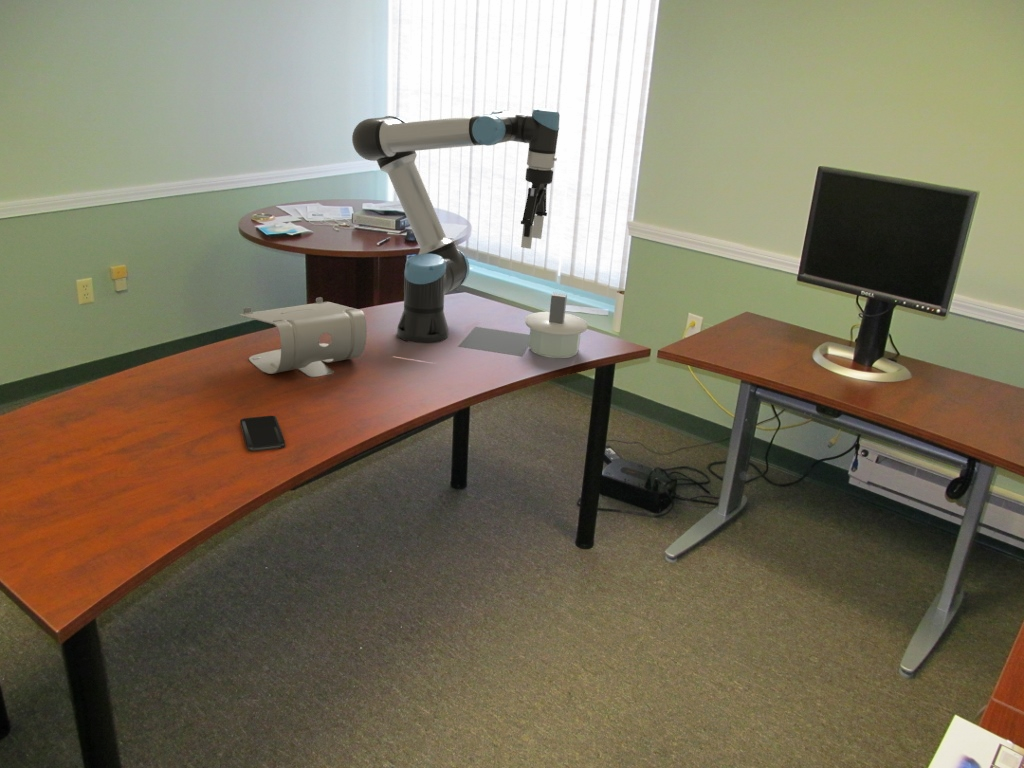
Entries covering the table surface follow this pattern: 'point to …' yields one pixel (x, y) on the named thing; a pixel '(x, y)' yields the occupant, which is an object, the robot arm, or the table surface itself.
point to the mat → (496, 341)
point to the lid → (556, 319)
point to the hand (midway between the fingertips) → (531, 242)
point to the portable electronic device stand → (311, 337)
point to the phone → (262, 433)
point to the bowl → (554, 344)
